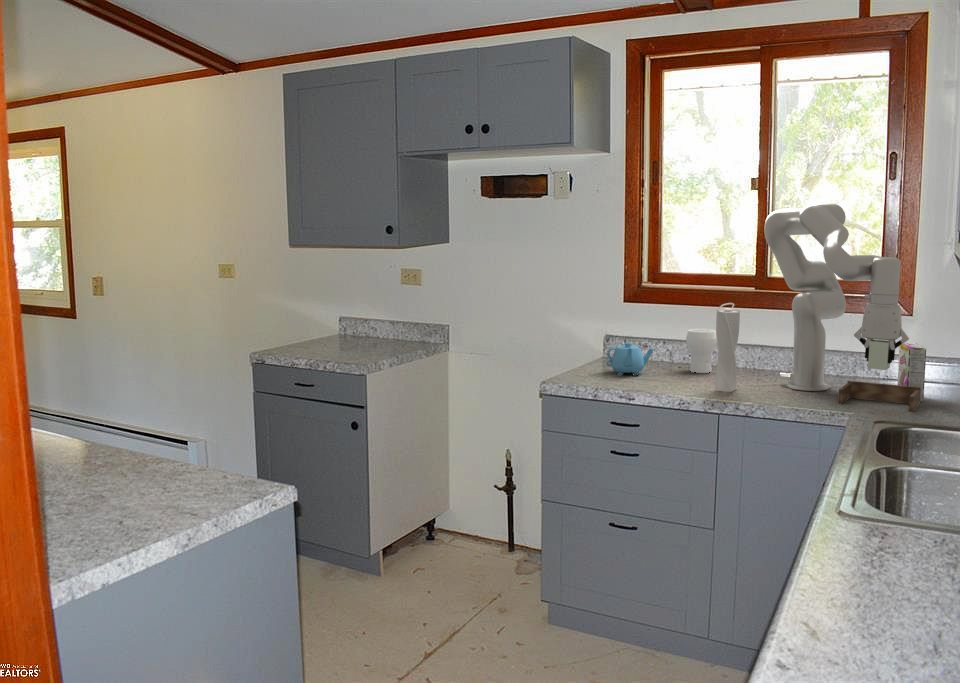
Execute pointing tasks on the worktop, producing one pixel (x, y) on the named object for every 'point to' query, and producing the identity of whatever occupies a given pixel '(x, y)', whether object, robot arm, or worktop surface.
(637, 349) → the teapot
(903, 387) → the walnut u-shaped bracket
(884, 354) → the sage block
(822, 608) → the worktop surface
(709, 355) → the cup
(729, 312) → the skyscraper
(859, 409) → the worktop surface
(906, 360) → the candy bar box
